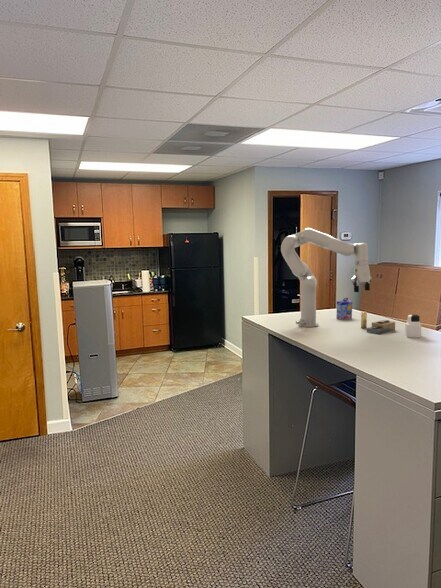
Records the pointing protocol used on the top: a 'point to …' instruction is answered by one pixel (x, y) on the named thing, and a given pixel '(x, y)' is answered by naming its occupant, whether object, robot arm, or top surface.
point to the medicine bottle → (413, 326)
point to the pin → (364, 320)
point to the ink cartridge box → (344, 309)
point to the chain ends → (381, 327)
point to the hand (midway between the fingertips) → (361, 291)
